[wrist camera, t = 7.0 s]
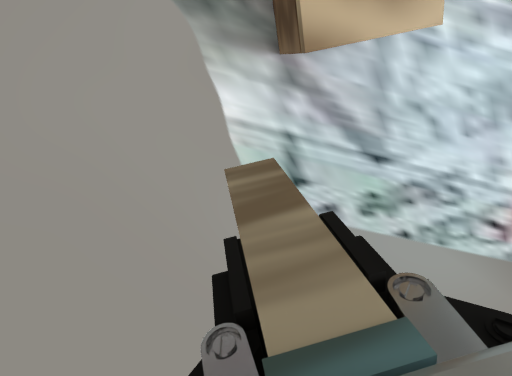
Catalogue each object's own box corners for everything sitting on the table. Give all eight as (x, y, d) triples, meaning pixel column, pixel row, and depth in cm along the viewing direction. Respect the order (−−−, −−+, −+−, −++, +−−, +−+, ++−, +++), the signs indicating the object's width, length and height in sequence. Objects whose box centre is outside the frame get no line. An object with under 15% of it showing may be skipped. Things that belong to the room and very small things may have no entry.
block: (221, 167, 19) (272, 406, 6) (275, 155, 19) (437, 354, 6) (233, 215, 20) (294, 490, 7) (283, 203, 20) (427, 445, 8)
